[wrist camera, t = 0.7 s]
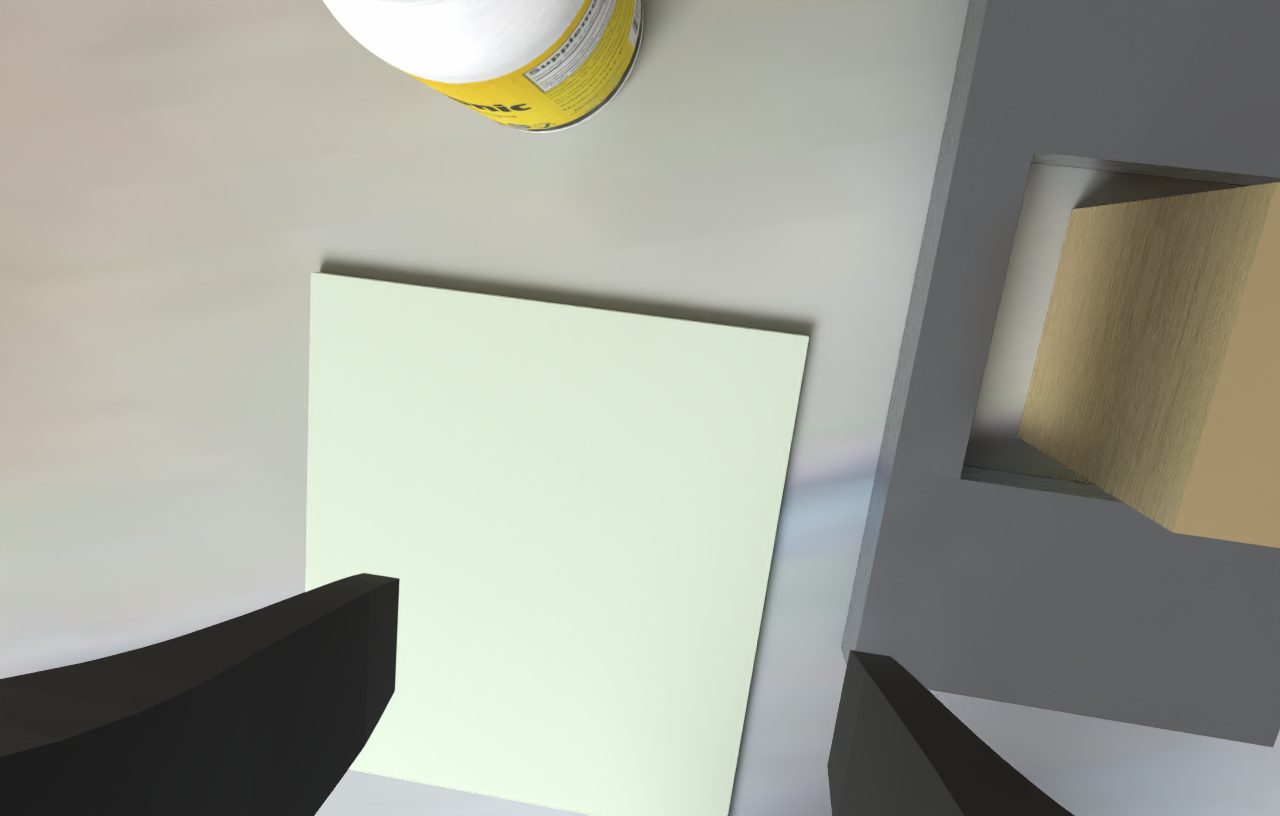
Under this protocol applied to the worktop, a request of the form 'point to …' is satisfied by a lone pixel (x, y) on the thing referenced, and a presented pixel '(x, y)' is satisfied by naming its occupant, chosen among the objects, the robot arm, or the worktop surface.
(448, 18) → the supplement bottle
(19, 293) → the worktop surface
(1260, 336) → the tan rectangular block
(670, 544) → the sage mat
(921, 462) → the iron frame
